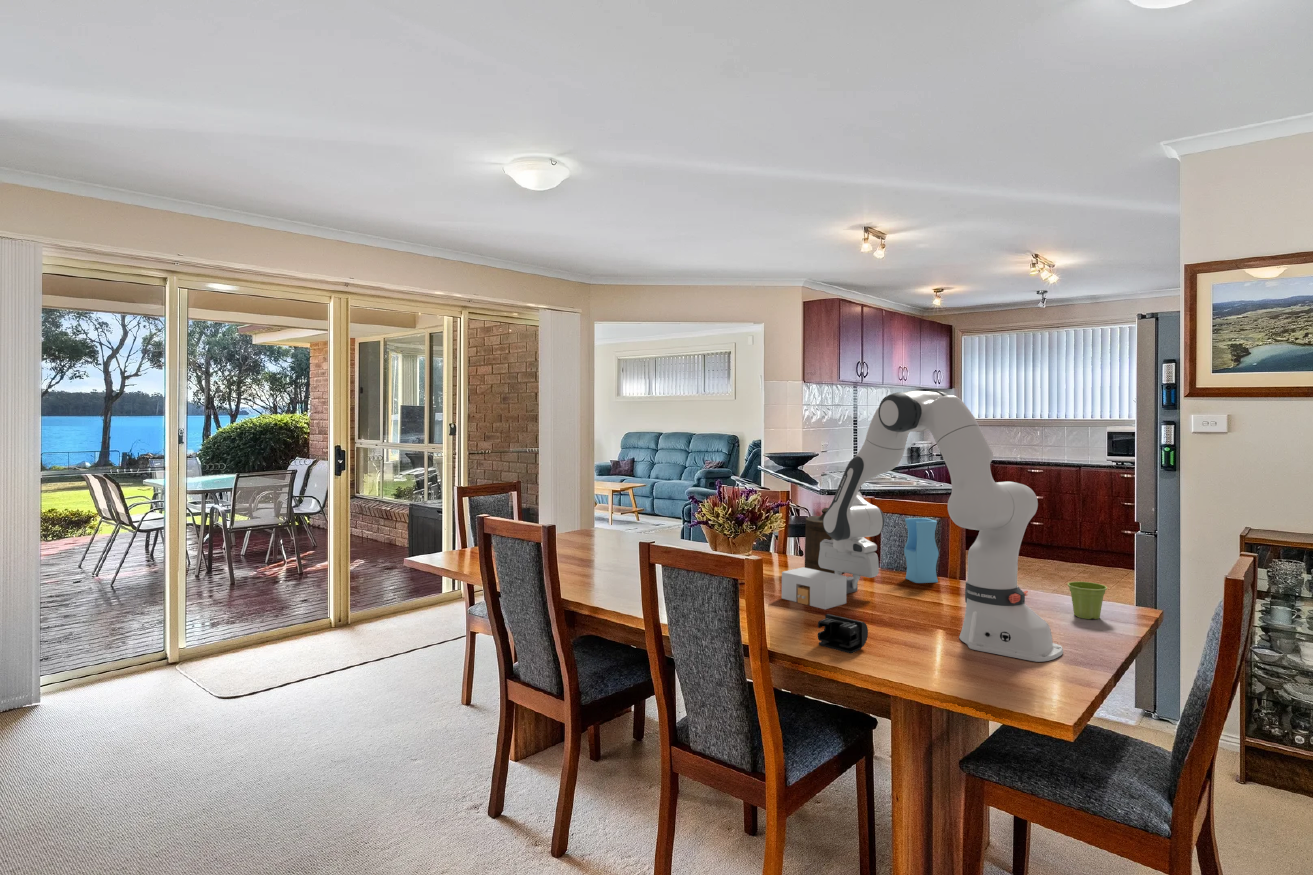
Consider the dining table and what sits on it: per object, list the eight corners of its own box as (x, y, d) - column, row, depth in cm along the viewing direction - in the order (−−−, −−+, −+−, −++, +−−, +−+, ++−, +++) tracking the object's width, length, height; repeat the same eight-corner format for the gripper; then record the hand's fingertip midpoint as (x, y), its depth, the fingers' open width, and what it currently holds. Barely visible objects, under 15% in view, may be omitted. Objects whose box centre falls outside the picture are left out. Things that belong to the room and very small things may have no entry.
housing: (846, 603, 214) (846, 576, 214) (825, 609, 208) (825, 581, 208) (802, 592, 227) (802, 567, 226) (781, 598, 220) (781, 571, 220)
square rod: (858, 590, 229) (858, 576, 229) (805, 605, 212) (805, 590, 212) (848, 588, 231) (848, 574, 231) (795, 603, 215) (795, 588, 215)
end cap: (868, 647, 175) (868, 619, 175) (852, 654, 170) (853, 625, 170) (831, 638, 182) (832, 611, 182) (816, 644, 177) (816, 617, 177)
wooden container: (840, 576, 249) (841, 511, 248) (798, 571, 256) (799, 509, 255) (852, 568, 262) (853, 506, 261) (812, 563, 269) (812, 504, 268)
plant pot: (1062, 616, 200) (1062, 585, 200) (1072, 609, 207) (1073, 579, 206) (1101, 623, 194) (1101, 591, 193) (1110, 616, 200) (1111, 585, 200)
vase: (903, 577, 246) (904, 518, 245) (925, 576, 248) (926, 517, 247) (916, 583, 238) (916, 522, 238) (938, 582, 240) (939, 521, 239)
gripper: (814, 539, 233) (814, 582, 234) (869, 548, 218) (869, 594, 218) (826, 537, 237) (826, 579, 238) (881, 545, 222) (881, 591, 222)
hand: (847, 586), depth 228 cm, fingers closed on square rod, 3 cm apart
